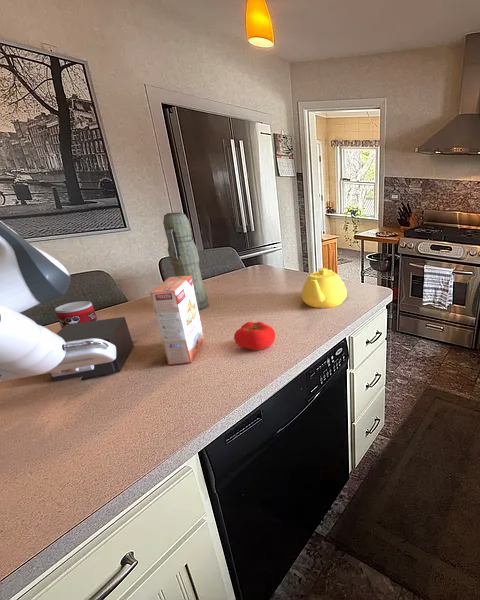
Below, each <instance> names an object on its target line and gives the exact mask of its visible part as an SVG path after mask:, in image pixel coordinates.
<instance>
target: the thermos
mask: <svg viewBox="0 0 480 600" xmlns="http://www.w3.org/2000/svg"><path fill="white" fill-rule="evenodd" d="M162 222H163V228H164V232H165V236H166V240H167V244H168V245H167V253H168V257H169V261H170V264H171V266H172V267H173V271H174V275H175V277H179V276H191V277H192V283H193V287H194V292H195V297H196V302H197V307H198V311H202V310H204V309H206V308H208V307H209V301H208V300H209V299H208V293H207V289H206V287H205V285H204V282H203V278H202V273H201V268H200V264H199V263H200V257H199V252H198V248H197V245H196V243H195V242H194V239H193V233H192V228H191V225H190V224H191V223H190V220H189V218H188V217H187V215H186V214H185V213H183V212H167V213H166V214H164V215H163V219H162Z"/></svg>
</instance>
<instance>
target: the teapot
mask: <svg viewBox="0 0 480 600" xmlns="http://www.w3.org/2000/svg"><path fill="white" fill-rule="evenodd" d="M347 292H348V291H347V288H346V285H345V283H344V281H343V280H342V279H341V277H340V276H339V274H337V272H335V271H333V270H332V269H328V268H326V267H322V268H321V267H319V268H318V270H316V271H313V272H311V273H310V274H309V275H308V276H307V278H306V280H305V282H304V284H303V287H302V291H301V299H302V301H303V302H304V303H305V304H306V305H307V306H309V307H312V308H316V309H317V308H318V309H328V308H333V307H337V306H339V305H341V304H342V303H343V302H344V301H345V300H346V298H347V295H348V293H347Z"/></svg>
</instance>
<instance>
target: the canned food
mask: <svg viewBox="0 0 480 600" xmlns="http://www.w3.org/2000/svg"><path fill="white" fill-rule="evenodd" d="M54 311H55V315H56V318H57V320H58V323H59V325H60V328H61V329H62V328H63V327H64V326H65V325H67V324H75V323H82V322H90V321H97V320H98V317H97V314H96V312H95V311H96V310H95V308H94V305H93V303H92V302H91V301H90V300H89V301H87V300H81V301H74V302H69V303H65V304H62V305H59V306H57V307H55V308H54Z"/></svg>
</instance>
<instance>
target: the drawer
mask: <svg viewBox="0 0 480 600" xmlns="http://www.w3.org/2000/svg"><path fill="white" fill-rule="evenodd" d="M115 370H116V369H115V366H114V364H113V361H112V362H107V363H102V364H96V365H90V366H85V367H79V371H76V372H70V373H65V374H60V373H49V376H50V378H51V380H52V382H53V383H55V382H60V381H66V380H71V379H72V380H73V379H76V378H84V379H87V378H86V377H89V378H93V377H92V376H94V377H98V376H97V375H100V376H103V375H102V374H105V375H109V374H108V373H110V374H114V373H113V372H115ZM115 373H116V372H115Z"/></svg>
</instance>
